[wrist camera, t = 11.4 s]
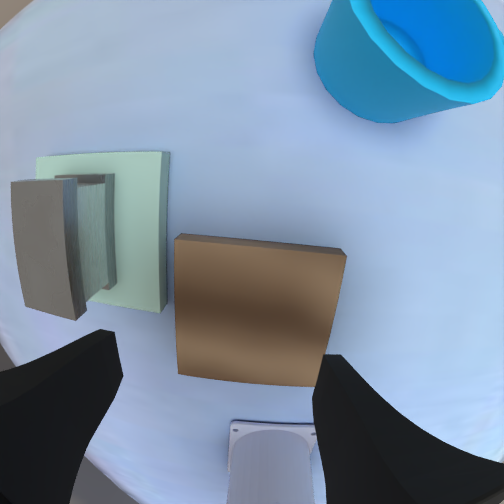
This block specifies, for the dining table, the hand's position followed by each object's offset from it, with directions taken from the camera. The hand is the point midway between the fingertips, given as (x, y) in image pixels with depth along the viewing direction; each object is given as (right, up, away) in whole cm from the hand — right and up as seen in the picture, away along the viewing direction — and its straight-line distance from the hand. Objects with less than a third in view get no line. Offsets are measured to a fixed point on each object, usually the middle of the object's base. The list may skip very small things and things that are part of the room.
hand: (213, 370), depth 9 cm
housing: (-9, +5, +7) cm, 13 cm away
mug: (+11, +16, +5) cm, 20 cm away
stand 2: (+1, 0, +10) cm, 10 cm away
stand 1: (-9, +6, +9) cm, 14 cm away
